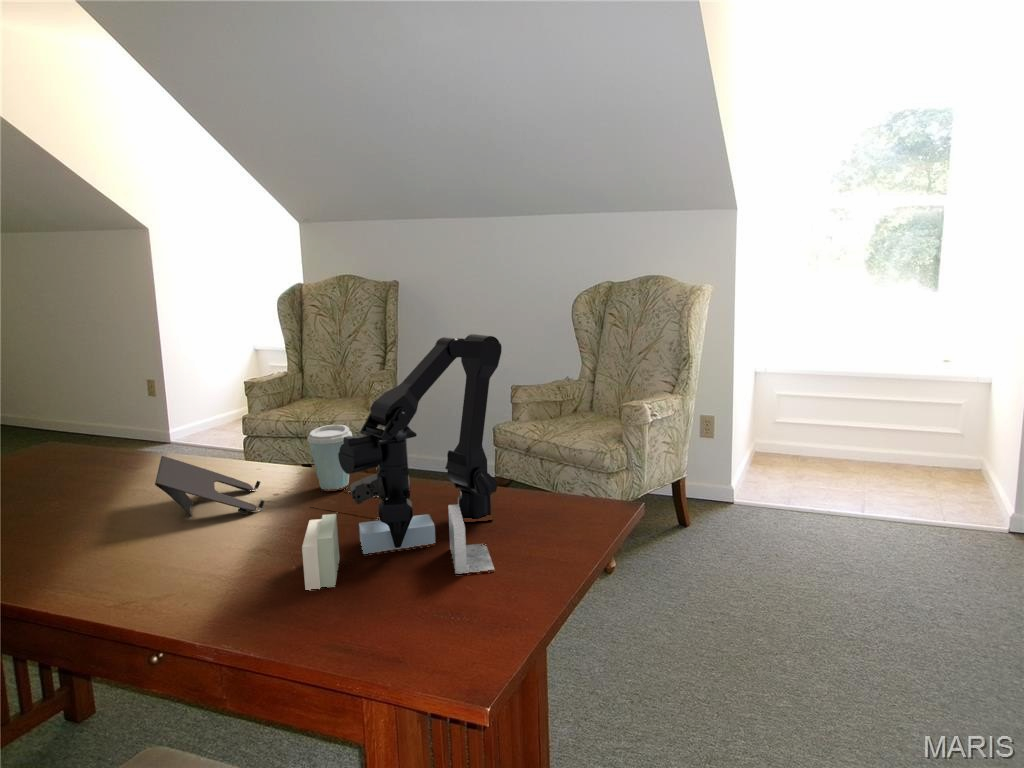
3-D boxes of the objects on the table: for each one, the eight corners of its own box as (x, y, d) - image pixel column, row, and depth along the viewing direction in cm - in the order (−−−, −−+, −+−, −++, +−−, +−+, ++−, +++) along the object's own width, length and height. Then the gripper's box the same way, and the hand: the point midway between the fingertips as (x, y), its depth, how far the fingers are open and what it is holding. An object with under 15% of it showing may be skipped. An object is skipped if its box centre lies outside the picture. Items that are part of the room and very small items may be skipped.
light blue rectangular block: (429, 534, 154) (428, 514, 153) (435, 546, 148) (434, 525, 147) (360, 544, 150) (358, 522, 149) (363, 556, 144) (362, 534, 143)
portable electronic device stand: (249, 544, 167) (266, 506, 167) (142, 513, 157) (159, 473, 157) (245, 511, 188) (259, 477, 188) (149, 483, 178) (165, 447, 178)
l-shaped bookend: (485, 546, 147) (484, 502, 145) (494, 571, 135) (493, 524, 134) (450, 549, 146) (448, 505, 144) (455, 575, 134) (453, 527, 132)
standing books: (339, 557, 143) (336, 512, 141) (335, 588, 130) (331, 538, 129) (312, 560, 142) (309, 515, 141) (305, 590, 130) (301, 541, 128)
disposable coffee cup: (345, 496, 178) (340, 435, 176) (303, 494, 181) (298, 433, 178) (362, 482, 189) (358, 424, 186) (322, 480, 191) (318, 423, 188)
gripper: (353, 452, 154) (357, 524, 157) (348, 479, 136) (354, 561, 139) (407, 448, 156) (411, 520, 158) (410, 475, 137) (414, 555, 140)
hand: (397, 538), depth 149 cm, fingers open, 9 cm apart
